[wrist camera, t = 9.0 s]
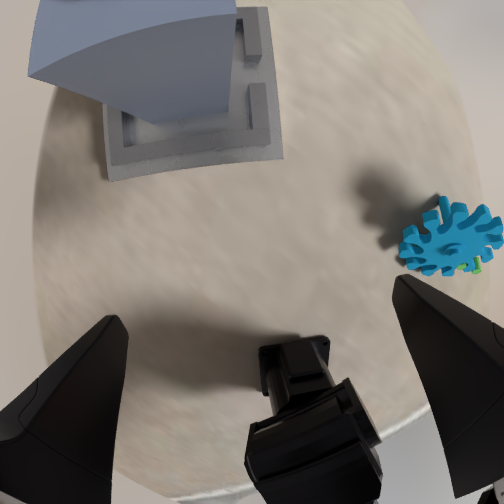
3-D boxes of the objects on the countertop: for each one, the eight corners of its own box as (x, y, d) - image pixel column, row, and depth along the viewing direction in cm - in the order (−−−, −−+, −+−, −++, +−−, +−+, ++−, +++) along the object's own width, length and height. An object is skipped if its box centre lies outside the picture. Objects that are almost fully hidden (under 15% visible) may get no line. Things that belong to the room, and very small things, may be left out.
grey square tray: (280, 159, 18) (288, 159, 16) (114, 180, 18) (99, 184, 15) (265, 12, 14) (270, -3, 12) (108, 36, 14) (96, 25, 11)
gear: (375, 251, 20) (490, 198, 12) (372, 193, 22) (464, 139, 14) (433, 294, 24) (516, 265, 16) (428, 245, 27) (501, 212, 18)
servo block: (228, 111, 16) (239, -6, 3) (153, 124, 16) (8, 70, 3) (221, 46, 14) (222, -109, 1) (148, 59, 14) (45, -56, 1)
